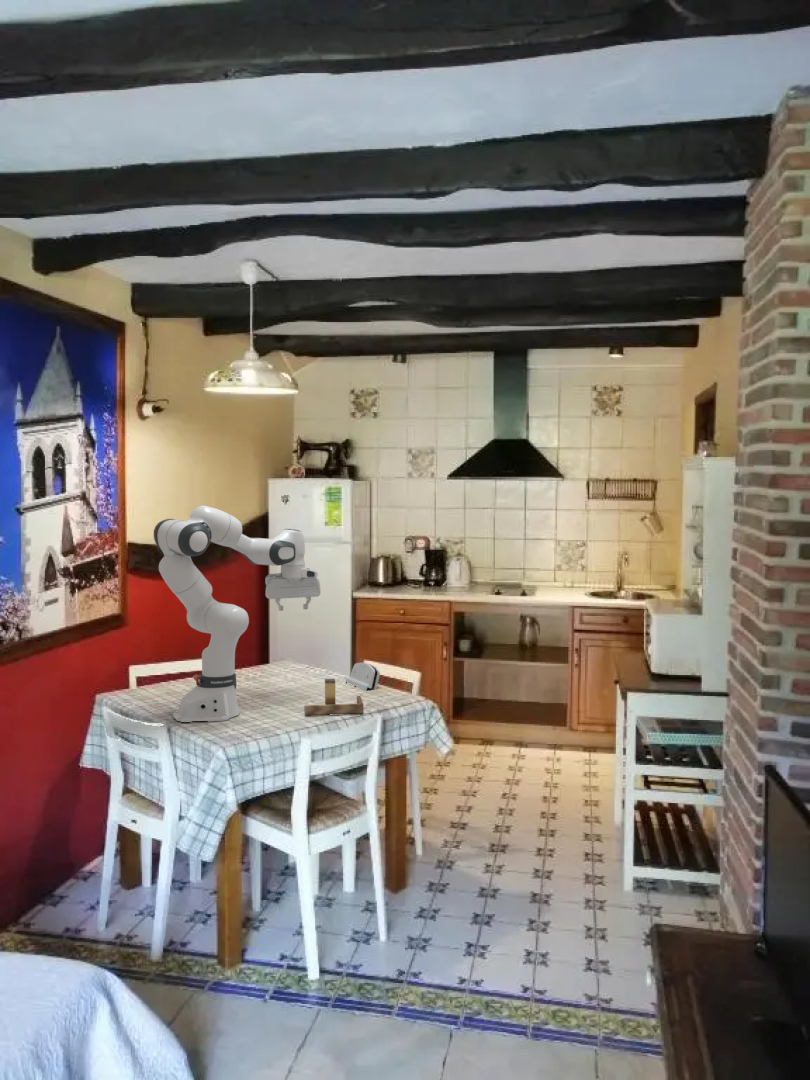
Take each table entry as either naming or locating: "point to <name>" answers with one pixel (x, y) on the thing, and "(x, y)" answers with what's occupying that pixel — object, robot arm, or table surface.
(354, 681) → the hinge
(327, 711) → the corner tray
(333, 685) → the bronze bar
